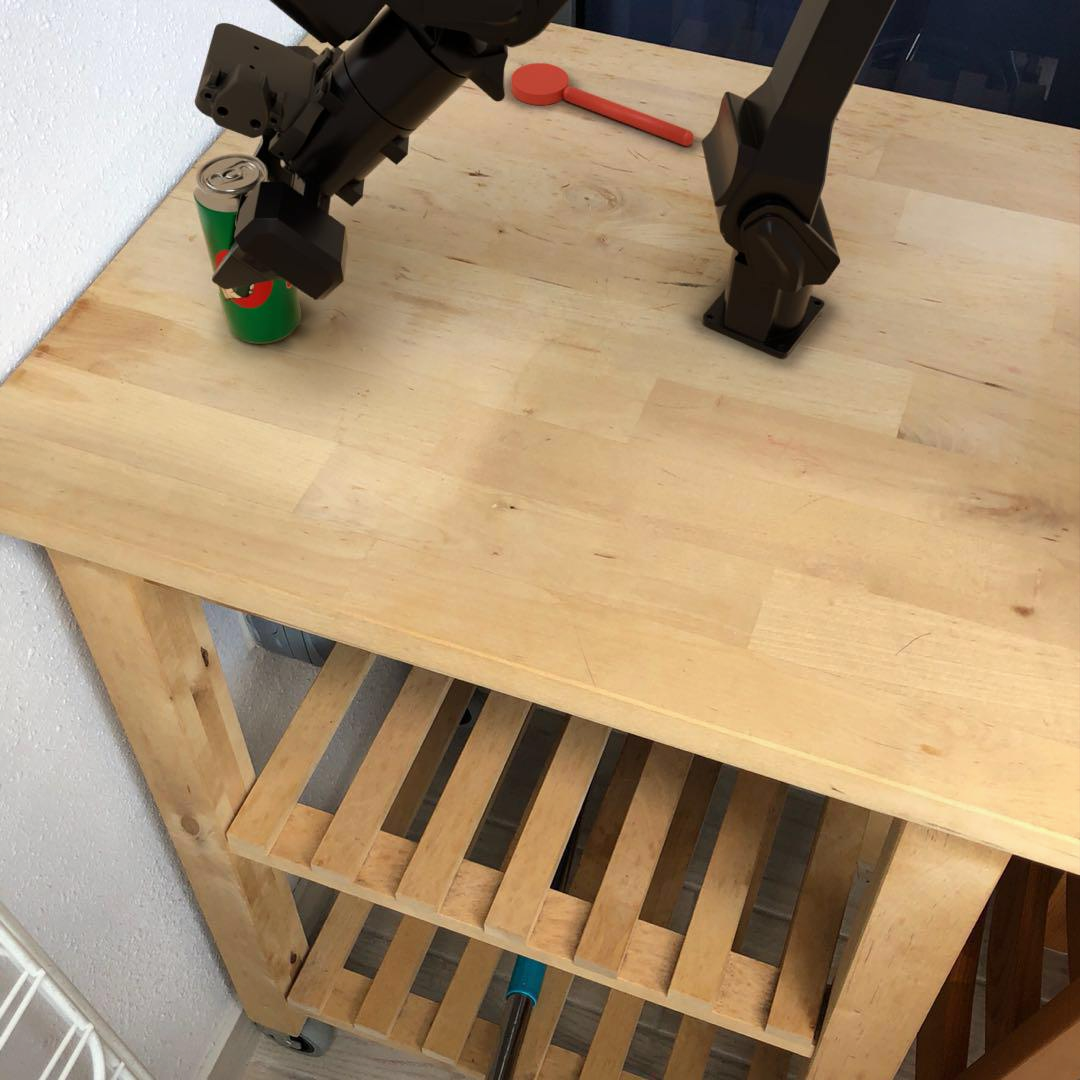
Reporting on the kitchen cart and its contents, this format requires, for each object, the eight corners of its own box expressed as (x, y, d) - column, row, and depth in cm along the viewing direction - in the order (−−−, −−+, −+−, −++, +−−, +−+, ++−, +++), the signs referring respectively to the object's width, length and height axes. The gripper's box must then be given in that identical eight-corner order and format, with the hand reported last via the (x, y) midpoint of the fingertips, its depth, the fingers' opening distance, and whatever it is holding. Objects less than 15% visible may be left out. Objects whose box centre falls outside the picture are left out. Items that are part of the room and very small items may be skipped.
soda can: (315, 330, 81) (288, 180, 72) (247, 359, 79) (210, 209, 70) (281, 290, 84) (251, 140, 74) (215, 316, 82) (175, 166, 72)
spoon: (706, 132, 96) (708, 119, 95) (677, 161, 94) (678, 148, 93) (531, 67, 102) (532, 54, 101) (500, 93, 99) (499, 80, 98)
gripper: (284, -91, 69) (140, 84, 77) (244, 87, 57) (80, 270, 66) (428, 38, 75) (281, 186, 84) (417, 221, 64) (248, 372, 72)
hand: (226, 245), depth 76 cm, fingers open, 7 cm apart
